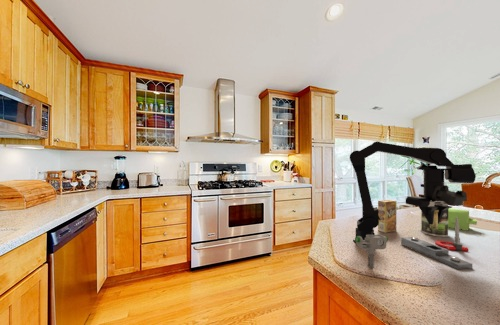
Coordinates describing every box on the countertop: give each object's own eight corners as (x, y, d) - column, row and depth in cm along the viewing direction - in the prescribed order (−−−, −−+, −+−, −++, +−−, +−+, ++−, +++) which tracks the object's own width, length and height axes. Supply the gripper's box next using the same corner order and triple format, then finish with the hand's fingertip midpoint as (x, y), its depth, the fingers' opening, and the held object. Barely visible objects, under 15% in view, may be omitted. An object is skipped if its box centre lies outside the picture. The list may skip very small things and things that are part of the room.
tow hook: (430, 242, 90) (447, 250, 81) (429, 213, 91) (446, 217, 82) (452, 244, 89) (471, 252, 80) (451, 214, 90) (470, 218, 80)
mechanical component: (353, 264, 68) (353, 234, 68) (382, 264, 69) (382, 234, 69) (358, 269, 65) (359, 238, 65) (389, 268, 66) (389, 237, 66)
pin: (434, 229, 74) (434, 210, 74) (426, 227, 77) (426, 208, 77) (441, 229, 75) (441, 210, 75) (433, 226, 77) (433, 208, 78)
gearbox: (429, 225, 117) (429, 209, 117) (432, 221, 123) (432, 206, 123) (476, 233, 103) (476, 214, 103) (477, 228, 109) (476, 211, 109)
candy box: (385, 233, 100) (386, 202, 100) (377, 230, 104) (377, 200, 104) (396, 231, 104) (397, 200, 104) (388, 228, 108) (388, 199, 108)
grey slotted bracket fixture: (458, 269, 66) (458, 257, 66) (401, 244, 86) (401, 235, 86) (472, 268, 67) (472, 256, 67) (412, 243, 87) (412, 234, 87)
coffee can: (453, 238, 95) (453, 207, 95) (425, 235, 99) (425, 205, 99) (442, 231, 104) (442, 204, 104) (417, 228, 108) (417, 202, 108)
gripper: (435, 184, 67) (435, 232, 66) (481, 183, 70) (481, 229, 69) (404, 181, 78) (404, 222, 77) (445, 181, 81) (445, 220, 80)
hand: (433, 224), depth 76 cm, fingers closed on pin, 2 cm apart
